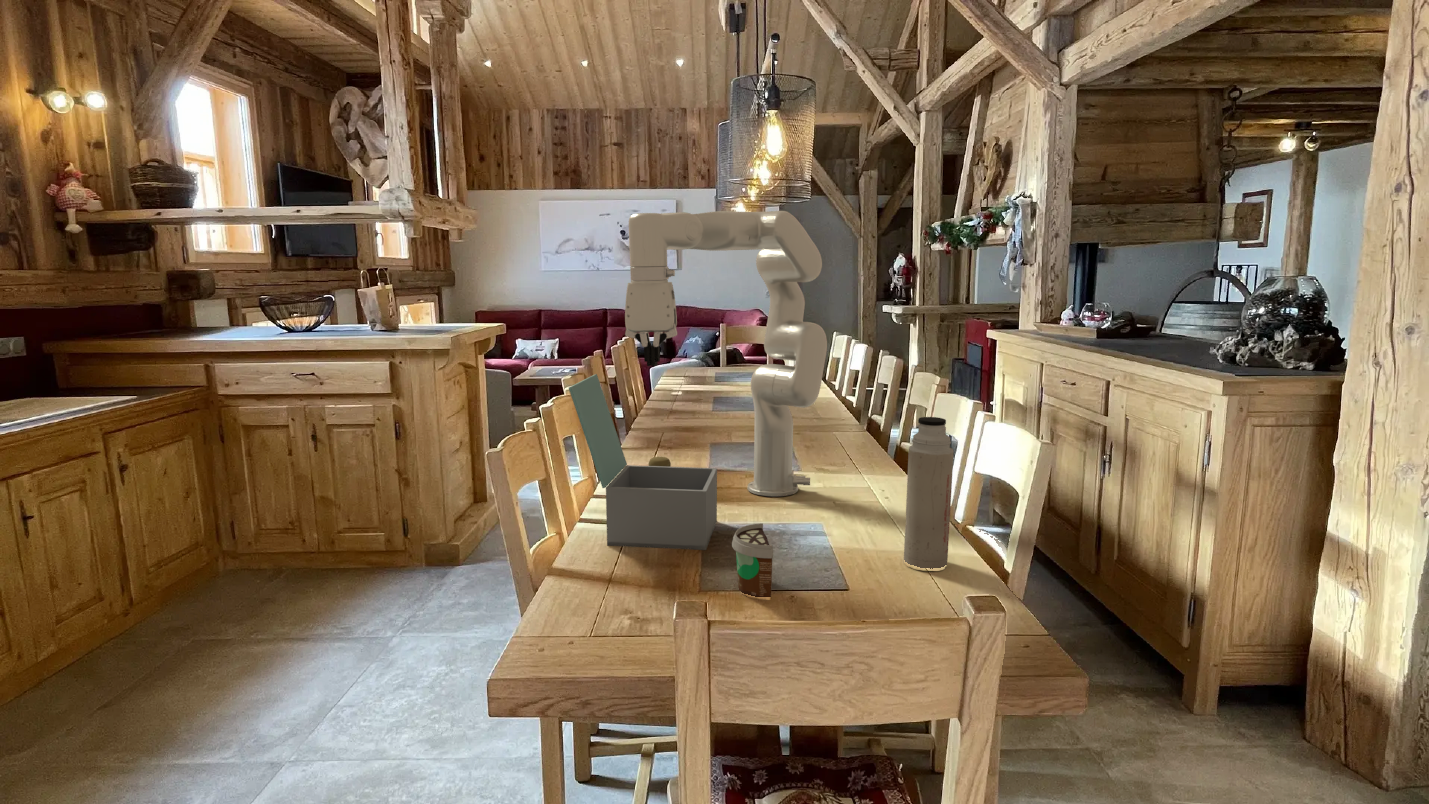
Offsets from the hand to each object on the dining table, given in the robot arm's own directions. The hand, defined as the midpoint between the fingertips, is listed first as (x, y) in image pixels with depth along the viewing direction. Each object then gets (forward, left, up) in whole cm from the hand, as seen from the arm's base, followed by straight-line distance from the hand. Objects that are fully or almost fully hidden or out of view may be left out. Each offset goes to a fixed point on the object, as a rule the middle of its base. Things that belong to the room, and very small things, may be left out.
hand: (652, 365), depth 163 cm
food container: (-23, +30, -35) cm, 52 cm away
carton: (-3, +3, -35) cm, 35 cm away
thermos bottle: (-55, +14, -35) cm, 67 cm away
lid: (+10, +3, -13) cm, 17 cm away
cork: (+2, -18, -35) cm, 39 cm away
